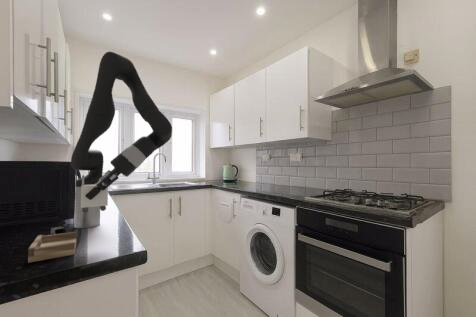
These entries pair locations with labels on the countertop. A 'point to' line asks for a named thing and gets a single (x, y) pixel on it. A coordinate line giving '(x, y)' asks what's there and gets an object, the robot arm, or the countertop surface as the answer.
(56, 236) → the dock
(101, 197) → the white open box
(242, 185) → the countertop surface
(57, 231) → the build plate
